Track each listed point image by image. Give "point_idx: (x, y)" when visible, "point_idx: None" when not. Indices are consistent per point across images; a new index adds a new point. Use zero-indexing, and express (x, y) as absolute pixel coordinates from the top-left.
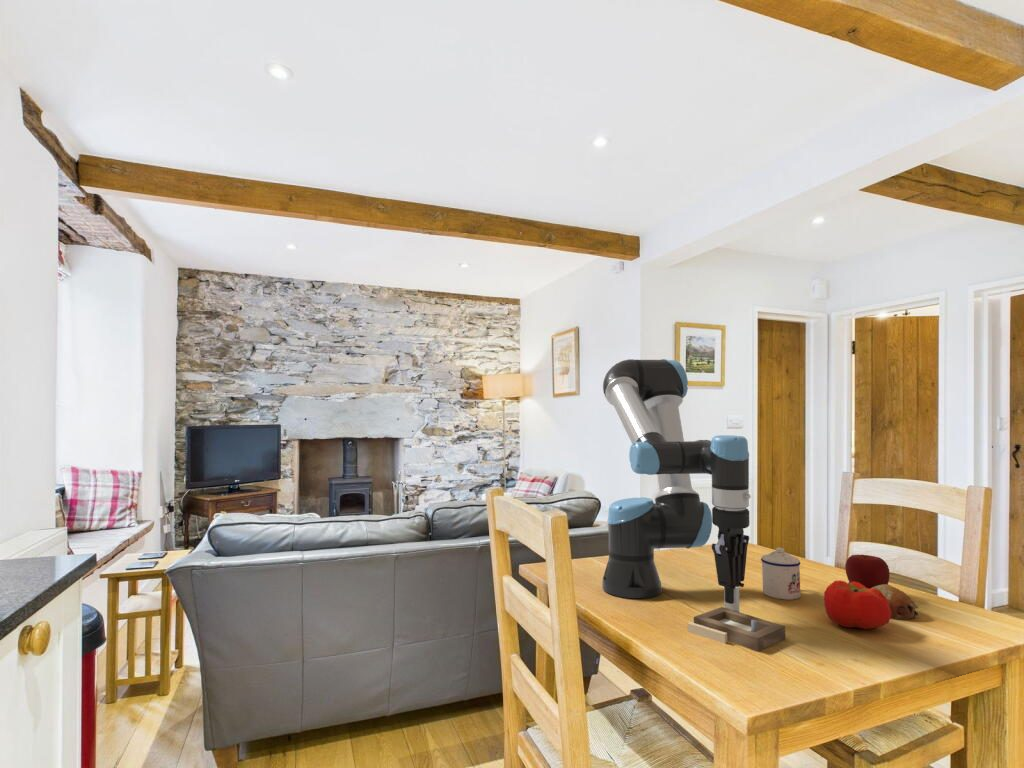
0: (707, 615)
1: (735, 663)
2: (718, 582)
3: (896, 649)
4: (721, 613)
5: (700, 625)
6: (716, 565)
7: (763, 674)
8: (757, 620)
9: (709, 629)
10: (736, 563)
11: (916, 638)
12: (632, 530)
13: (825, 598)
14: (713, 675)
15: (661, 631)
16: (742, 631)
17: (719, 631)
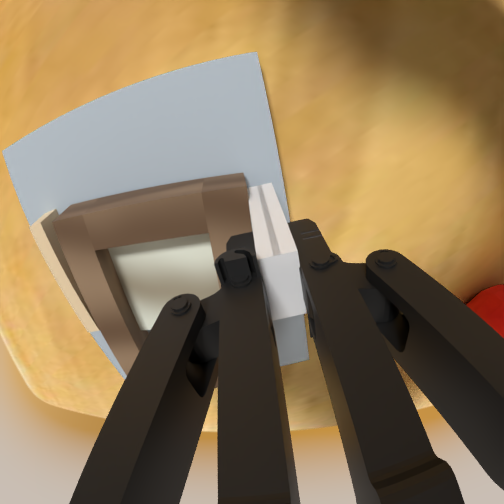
0: (105, 235)
1: (90, 341)
2: (159, 316)
3: None
4: (184, 234)
5: (55, 260)
6: (101, 438)
7: (114, 379)
8: None
9: (66, 293)
10: (341, 435)
11: None
12: None
13: (495, 318)
14: (33, 344)
15: (22, 125)
16: (129, 361)
17: (84, 315)
